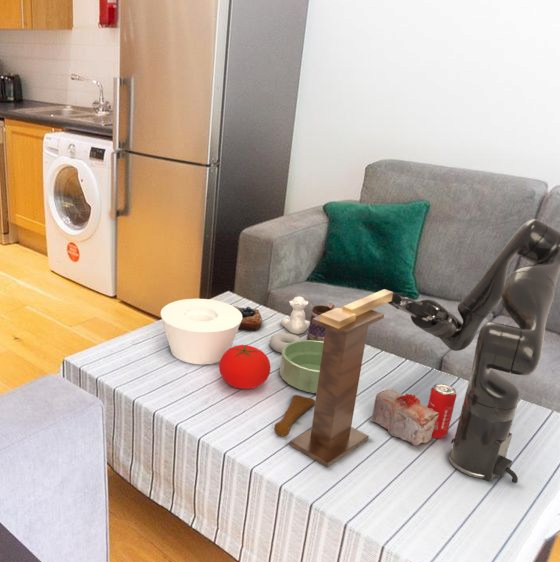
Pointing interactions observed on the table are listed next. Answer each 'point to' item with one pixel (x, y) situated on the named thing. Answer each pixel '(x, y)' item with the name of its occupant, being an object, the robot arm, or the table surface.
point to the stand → (337, 392)
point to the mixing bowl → (302, 364)
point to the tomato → (244, 367)
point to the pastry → (250, 319)
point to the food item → (404, 416)
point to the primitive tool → (293, 414)
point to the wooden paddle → (355, 309)
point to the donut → (282, 340)
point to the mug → (315, 330)
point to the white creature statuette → (297, 317)
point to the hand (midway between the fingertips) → (408, 301)
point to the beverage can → (442, 407)
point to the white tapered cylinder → (200, 329)
